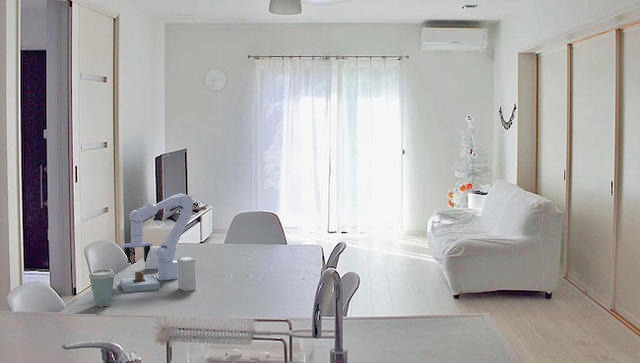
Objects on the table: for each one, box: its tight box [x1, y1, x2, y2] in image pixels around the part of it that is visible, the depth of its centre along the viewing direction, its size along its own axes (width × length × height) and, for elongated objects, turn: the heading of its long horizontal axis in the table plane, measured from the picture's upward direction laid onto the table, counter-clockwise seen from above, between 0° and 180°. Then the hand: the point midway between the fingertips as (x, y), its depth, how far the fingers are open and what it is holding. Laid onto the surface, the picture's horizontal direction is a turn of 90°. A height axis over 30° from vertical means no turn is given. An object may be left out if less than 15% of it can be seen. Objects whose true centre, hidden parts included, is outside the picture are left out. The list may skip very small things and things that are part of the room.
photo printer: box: [144, 245, 160, 270], centre depth 363 cm, size 10×4×12 cm, turn 98°
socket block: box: [119, 275, 160, 293], centre depth 325 cm, size 16×16×3 cm
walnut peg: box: [134, 271, 145, 282], centre depth 325 cm, size 4×4×7 cm
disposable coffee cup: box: [89, 268, 115, 308], centre depth 291 cm, size 11×11×15 cm
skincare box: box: [176, 256, 197, 292], centre depth 321 cm, size 8×6×15 cm
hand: (137, 261), depth 333 cm, fingers open, 7 cm apart
